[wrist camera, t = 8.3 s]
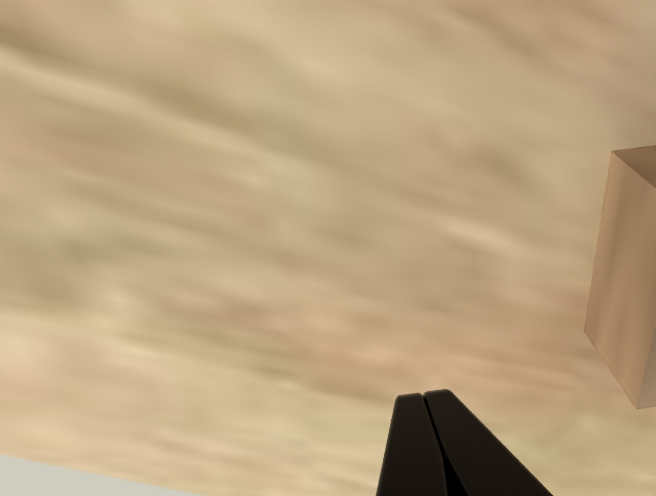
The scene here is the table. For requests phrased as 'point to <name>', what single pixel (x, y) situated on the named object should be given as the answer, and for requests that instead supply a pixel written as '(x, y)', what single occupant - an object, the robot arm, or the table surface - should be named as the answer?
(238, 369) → the table surface
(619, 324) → the walnut block
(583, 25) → the table surface
